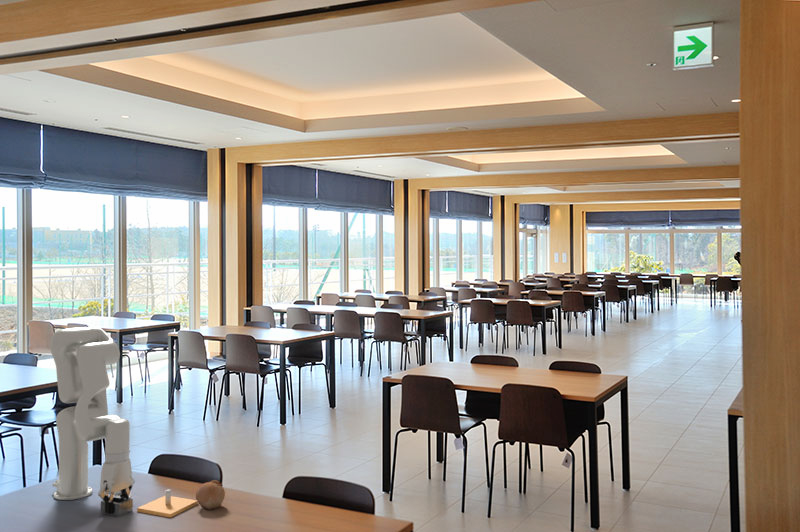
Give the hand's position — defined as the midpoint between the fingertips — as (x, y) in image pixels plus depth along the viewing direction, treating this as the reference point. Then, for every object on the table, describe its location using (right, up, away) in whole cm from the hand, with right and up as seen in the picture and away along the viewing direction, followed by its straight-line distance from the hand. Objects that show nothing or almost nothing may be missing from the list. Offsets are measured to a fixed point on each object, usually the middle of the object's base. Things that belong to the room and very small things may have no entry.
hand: (116, 509), depth 231 cm
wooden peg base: (+16, -1, +4) cm, 16 cm away
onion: (+30, -1, +5) cm, 31 cm away
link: (0, -1, 0) cm, 1 cm away
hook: (-5, -1, +15) cm, 16 cm away
